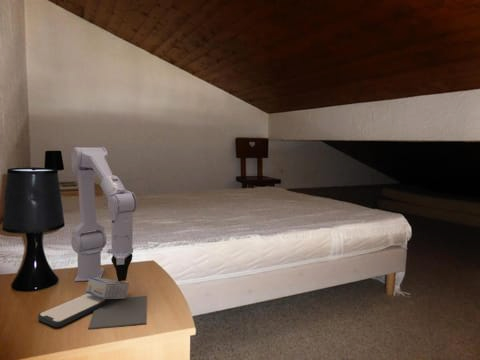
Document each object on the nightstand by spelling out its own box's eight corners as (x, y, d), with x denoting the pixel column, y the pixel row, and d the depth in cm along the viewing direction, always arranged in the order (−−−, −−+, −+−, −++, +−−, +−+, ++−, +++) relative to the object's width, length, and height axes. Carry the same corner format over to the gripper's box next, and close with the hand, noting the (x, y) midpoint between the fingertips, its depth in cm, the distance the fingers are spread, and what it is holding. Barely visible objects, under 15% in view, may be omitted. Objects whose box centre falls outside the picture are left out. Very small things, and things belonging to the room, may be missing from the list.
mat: (97, 300, 104) (97, 299, 104) (146, 297, 108) (146, 295, 108) (88, 329, 89) (88, 327, 89) (146, 324, 92) (146, 322, 92)
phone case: (88, 297, 106) (35, 320, 92) (88, 292, 106) (35, 314, 92) (109, 304, 102) (57, 329, 88) (109, 298, 101) (57, 323, 87)
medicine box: (130, 283, 106) (107, 282, 99) (126, 299, 105) (103, 299, 98) (112, 278, 110) (89, 277, 103) (108, 293, 109) (84, 293, 102)
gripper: (109, 228, 108) (109, 271, 110) (104, 242, 94) (104, 291, 96) (134, 228, 110) (133, 270, 111) (132, 241, 96) (132, 289, 98)
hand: (122, 280), depth 104 cm, fingers closed
